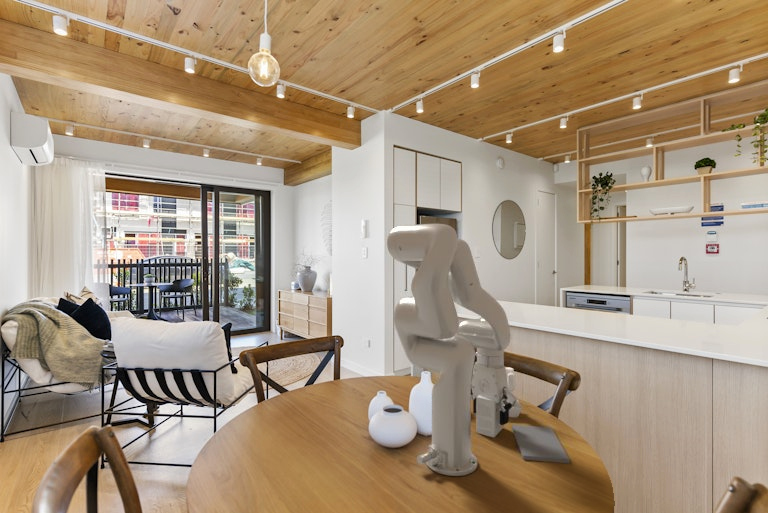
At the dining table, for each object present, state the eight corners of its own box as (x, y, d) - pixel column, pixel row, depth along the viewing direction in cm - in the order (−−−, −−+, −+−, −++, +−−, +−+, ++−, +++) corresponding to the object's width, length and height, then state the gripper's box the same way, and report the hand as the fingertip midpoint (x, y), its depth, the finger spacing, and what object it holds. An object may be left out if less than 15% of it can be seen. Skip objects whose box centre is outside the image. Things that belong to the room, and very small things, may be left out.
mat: (569, 463, 97) (569, 459, 97) (523, 459, 98) (523, 455, 98) (550, 430, 114) (550, 427, 114) (511, 428, 116) (511, 424, 116)
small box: (485, 423, 119) (485, 388, 119) (504, 428, 116) (504, 392, 116) (475, 433, 113) (475, 396, 113) (494, 438, 110) (494, 400, 110)
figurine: (516, 408, 130) (516, 363, 130) (524, 421, 121) (524, 372, 121) (494, 408, 131) (494, 363, 131) (500, 420, 121) (500, 372, 121)
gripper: (459, 355, 119) (459, 411, 120) (506, 369, 105) (507, 432, 106) (476, 351, 124) (476, 405, 124) (523, 364, 110) (523, 425, 110)
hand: (490, 417), depth 115 cm, fingers open, 9 cm apart
